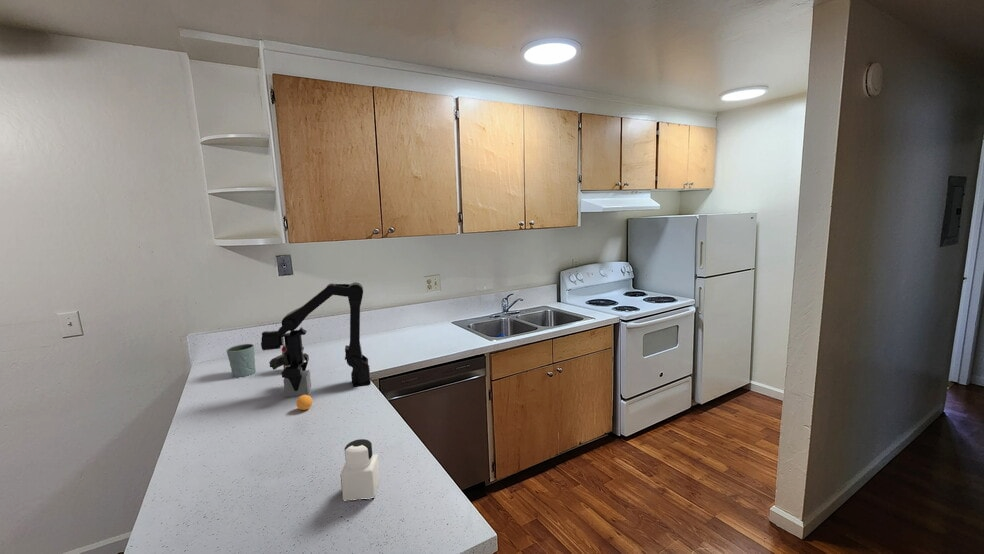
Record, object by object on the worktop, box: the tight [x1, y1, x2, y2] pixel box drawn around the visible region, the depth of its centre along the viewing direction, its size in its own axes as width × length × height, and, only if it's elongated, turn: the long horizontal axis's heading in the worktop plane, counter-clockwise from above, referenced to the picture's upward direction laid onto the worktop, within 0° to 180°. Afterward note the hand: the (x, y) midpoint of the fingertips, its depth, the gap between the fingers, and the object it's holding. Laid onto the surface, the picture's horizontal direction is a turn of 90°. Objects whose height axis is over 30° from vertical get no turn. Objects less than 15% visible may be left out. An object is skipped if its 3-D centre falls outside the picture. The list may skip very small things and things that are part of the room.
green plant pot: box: [226, 343, 257, 378], centre depth 179 cm, size 10×10×12 cm
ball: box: [296, 394, 313, 411], centre depth 143 cm, size 5×5×5 cm
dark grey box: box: [283, 370, 312, 398], centre depth 158 cm, size 8×8×7 cm
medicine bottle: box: [340, 438, 381, 501], centre depth 98 cm, size 7×7×12 cm
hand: (298, 386), depth 159 cm, fingers closed on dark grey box, 8 cm apart
